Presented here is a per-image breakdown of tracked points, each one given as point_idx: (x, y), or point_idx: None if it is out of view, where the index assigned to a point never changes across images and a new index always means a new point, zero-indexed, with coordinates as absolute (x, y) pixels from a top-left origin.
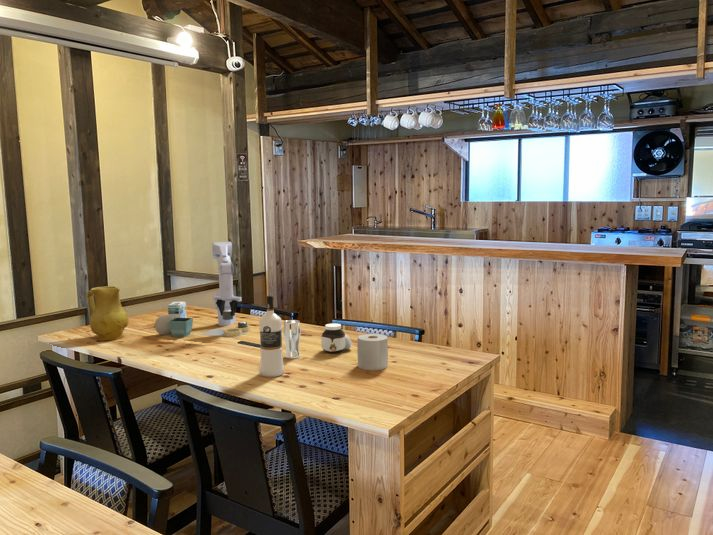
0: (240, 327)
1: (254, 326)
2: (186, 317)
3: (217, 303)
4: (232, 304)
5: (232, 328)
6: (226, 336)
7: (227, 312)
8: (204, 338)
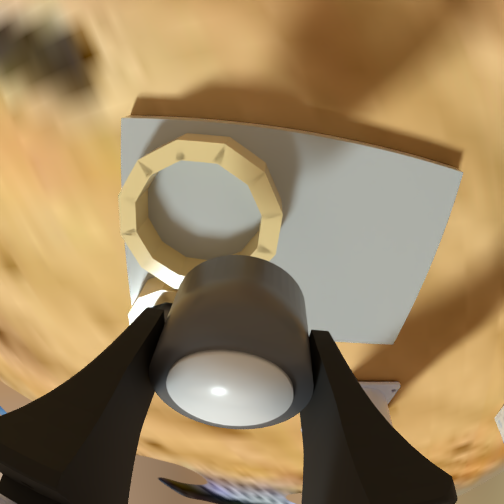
0: None
1: None
2: (498, 426)
3: (419, 482)
4: (20, 425)
5: None
6: (222, 127)
7: (192, 331)
8: (414, 130)
